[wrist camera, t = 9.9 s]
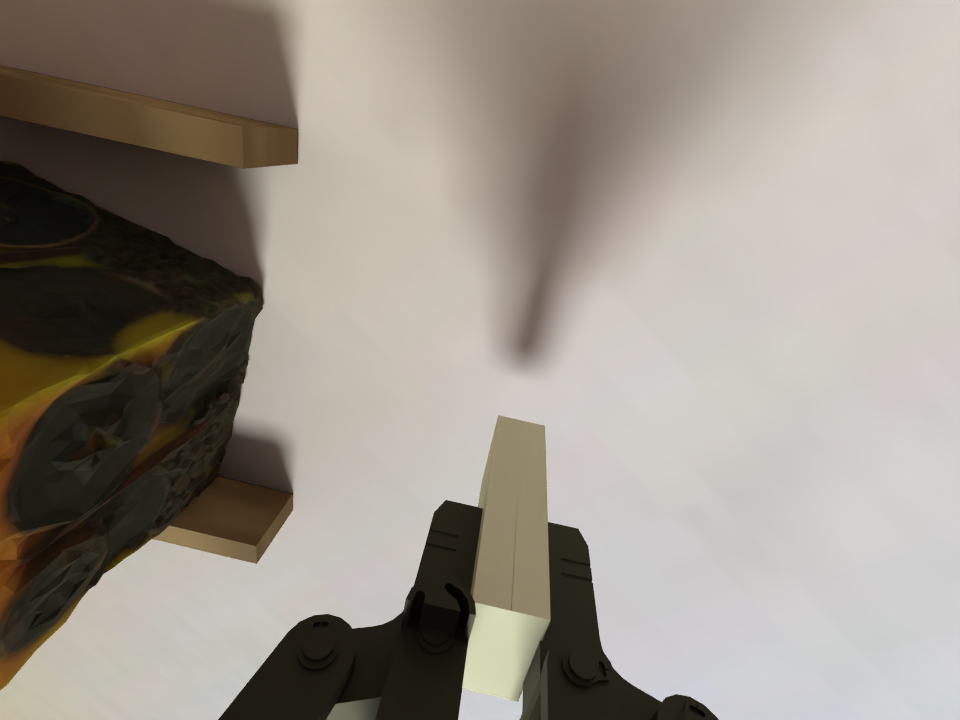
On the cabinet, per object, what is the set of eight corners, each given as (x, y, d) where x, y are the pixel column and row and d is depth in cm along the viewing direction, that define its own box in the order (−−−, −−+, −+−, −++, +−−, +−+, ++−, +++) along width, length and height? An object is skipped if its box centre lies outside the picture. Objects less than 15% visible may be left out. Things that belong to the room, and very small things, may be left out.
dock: (3, 442, 22) (-175, 542, 16) (-129, 37, 15) (-516, -23, 9) (292, 510, 21) (208, 634, 16) (298, 129, 14) (152, 121, 9)
